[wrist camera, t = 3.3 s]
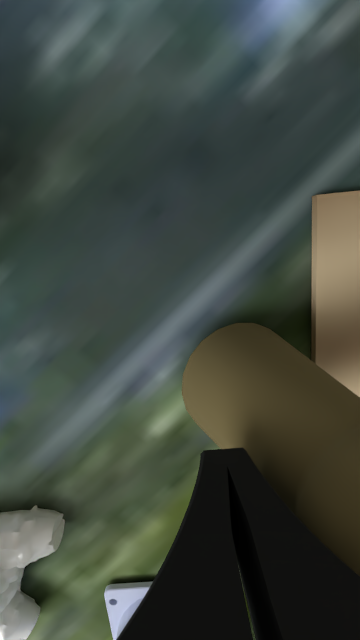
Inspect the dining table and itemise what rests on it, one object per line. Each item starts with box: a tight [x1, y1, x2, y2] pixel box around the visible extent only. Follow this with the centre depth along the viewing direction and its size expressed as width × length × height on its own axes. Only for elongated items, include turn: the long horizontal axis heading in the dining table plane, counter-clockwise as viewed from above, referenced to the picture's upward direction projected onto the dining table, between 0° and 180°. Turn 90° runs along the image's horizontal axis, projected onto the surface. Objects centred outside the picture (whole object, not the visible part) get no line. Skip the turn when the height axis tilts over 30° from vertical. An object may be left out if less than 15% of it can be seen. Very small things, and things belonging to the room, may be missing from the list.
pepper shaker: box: [182, 323, 360, 576], centre depth 11 cm, size 6×6×11 cm
